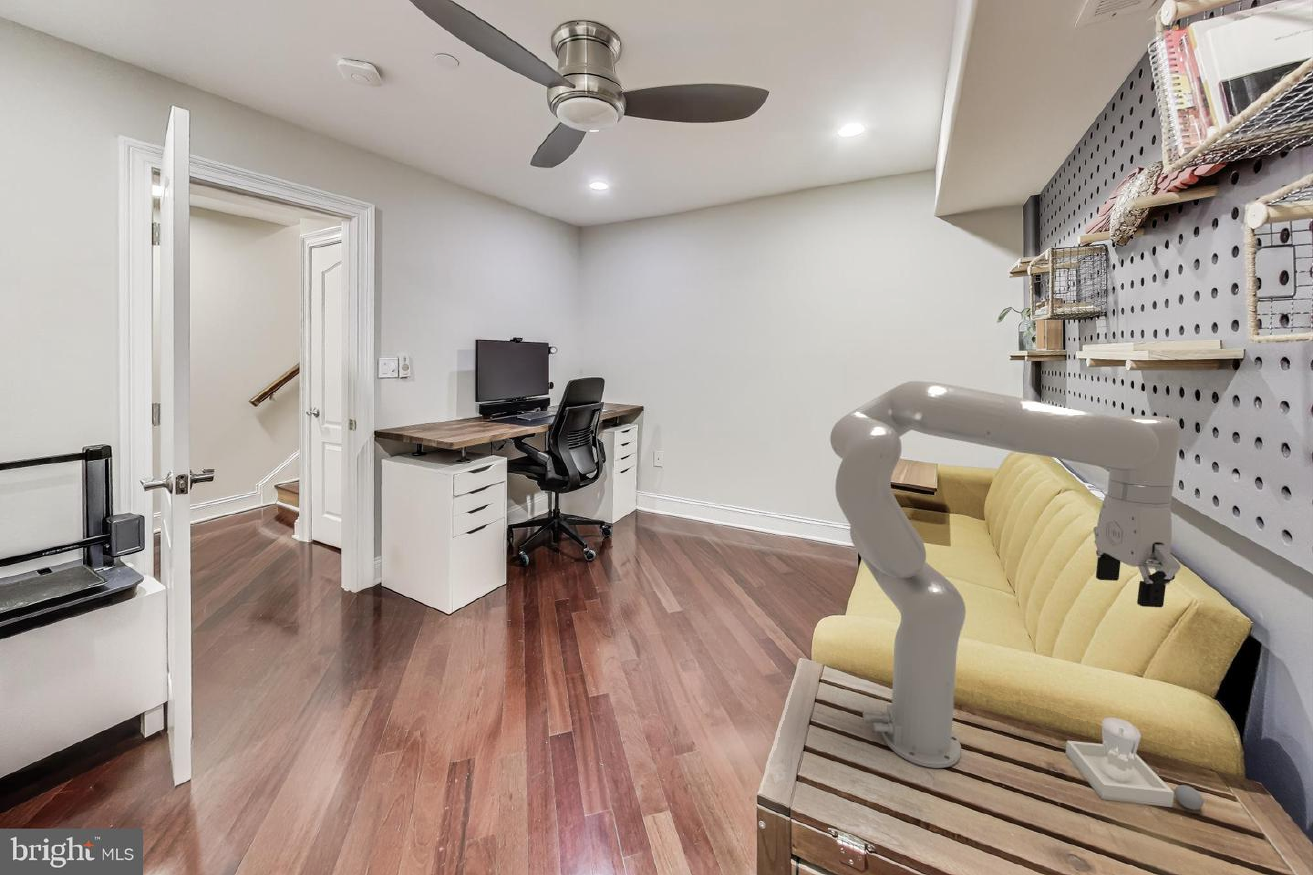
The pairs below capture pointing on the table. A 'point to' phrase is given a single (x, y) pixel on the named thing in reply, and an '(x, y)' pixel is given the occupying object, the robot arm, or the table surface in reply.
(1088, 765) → the tray
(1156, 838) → the table surface
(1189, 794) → the ball
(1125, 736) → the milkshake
